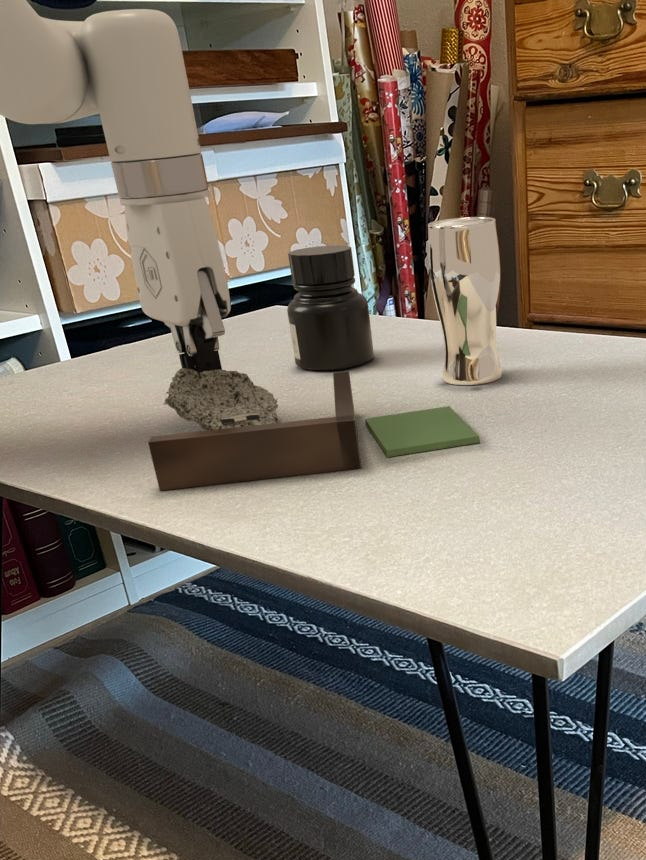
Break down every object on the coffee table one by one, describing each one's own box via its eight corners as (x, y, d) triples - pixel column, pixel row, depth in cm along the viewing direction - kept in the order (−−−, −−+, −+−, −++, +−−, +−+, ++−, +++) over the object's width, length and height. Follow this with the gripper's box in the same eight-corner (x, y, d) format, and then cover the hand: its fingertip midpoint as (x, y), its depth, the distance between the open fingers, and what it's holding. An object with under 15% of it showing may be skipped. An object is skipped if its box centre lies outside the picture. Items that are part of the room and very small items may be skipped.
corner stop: (159, 491, 78) (147, 442, 76) (183, 431, 91) (174, 389, 89) (361, 468, 79) (354, 419, 77) (354, 413, 93) (349, 371, 91)
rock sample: (216, 412, 82) (194, 328, 85) (172, 462, 86) (153, 382, 89) (316, 434, 89) (292, 357, 92) (271, 479, 94) (250, 405, 97)
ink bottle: (327, 350, 117) (312, 243, 111) (390, 353, 113) (378, 243, 107) (278, 371, 110) (259, 257, 104) (344, 375, 106) (328, 257, 100)
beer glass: (447, 369, 105) (435, 218, 98) (511, 368, 104) (503, 215, 96) (432, 387, 99) (417, 228, 92) (499, 386, 98) (490, 224, 90)
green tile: (387, 457, 81) (386, 450, 81) (365, 424, 89) (364, 418, 89) (480, 442, 83) (479, 435, 82) (450, 412, 91) (449, 405, 91)
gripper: (88, 186, 87) (139, 391, 96) (155, 188, 77) (205, 418, 86) (167, 176, 91) (209, 374, 100) (241, 177, 80) (281, 398, 89)
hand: (207, 394), depth 93 cm, fingers closed
